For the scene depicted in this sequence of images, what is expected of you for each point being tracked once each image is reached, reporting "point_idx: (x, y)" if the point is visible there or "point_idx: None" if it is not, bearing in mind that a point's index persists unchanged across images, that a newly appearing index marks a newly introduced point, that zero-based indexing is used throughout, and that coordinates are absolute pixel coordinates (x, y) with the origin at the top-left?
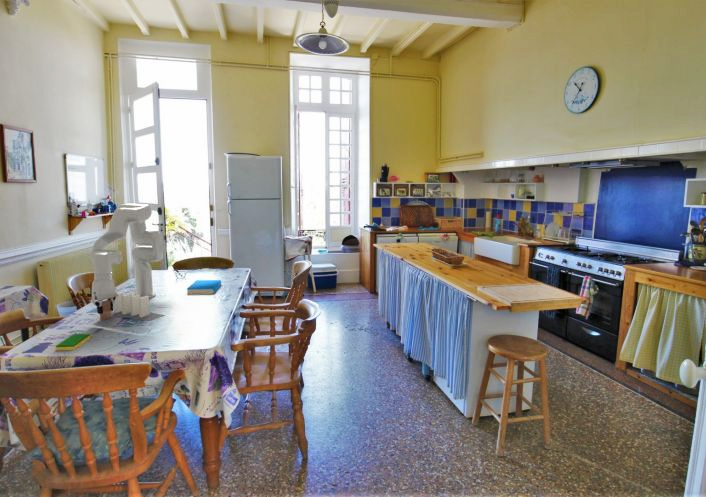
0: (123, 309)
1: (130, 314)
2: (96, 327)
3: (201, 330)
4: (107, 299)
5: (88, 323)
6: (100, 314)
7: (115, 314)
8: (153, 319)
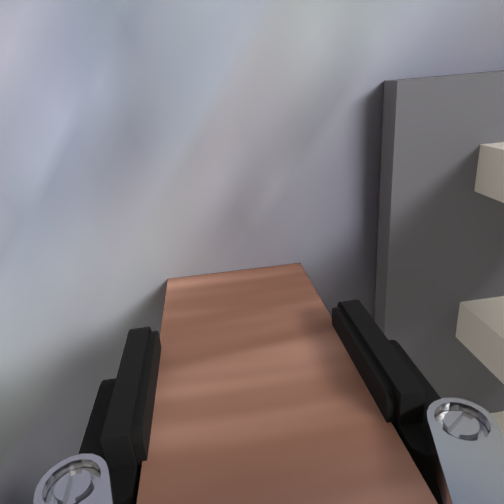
0: (499, 365)
1: (474, 388)
2: (21, 436)
3: None
4: (449, 491)
5: (23, 229)
6: (163, 343)
7: (413, 250)
8: None
